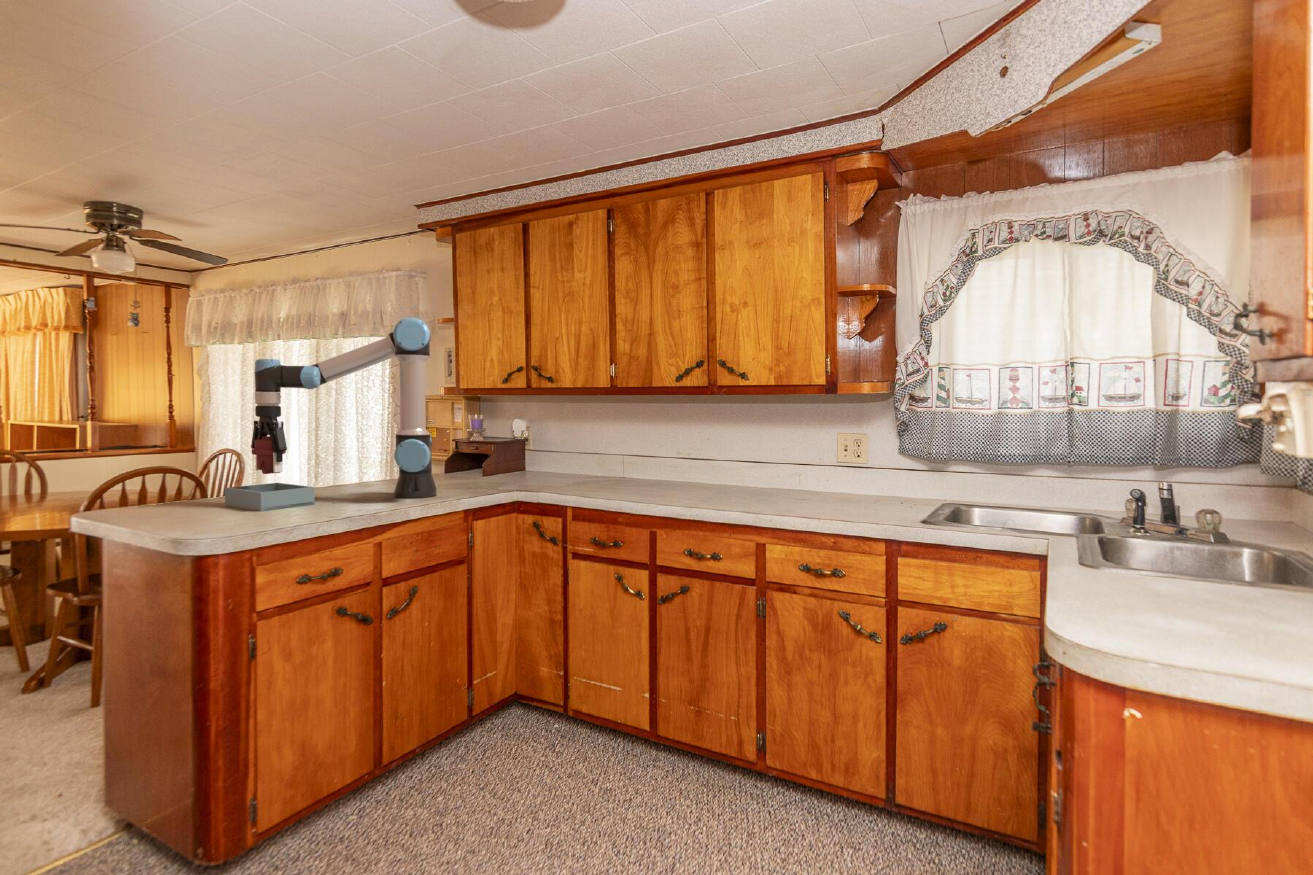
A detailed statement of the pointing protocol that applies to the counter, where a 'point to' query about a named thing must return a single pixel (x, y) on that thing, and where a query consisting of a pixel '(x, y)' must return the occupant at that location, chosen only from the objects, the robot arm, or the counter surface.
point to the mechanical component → (264, 454)
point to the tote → (269, 496)
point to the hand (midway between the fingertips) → (269, 470)
